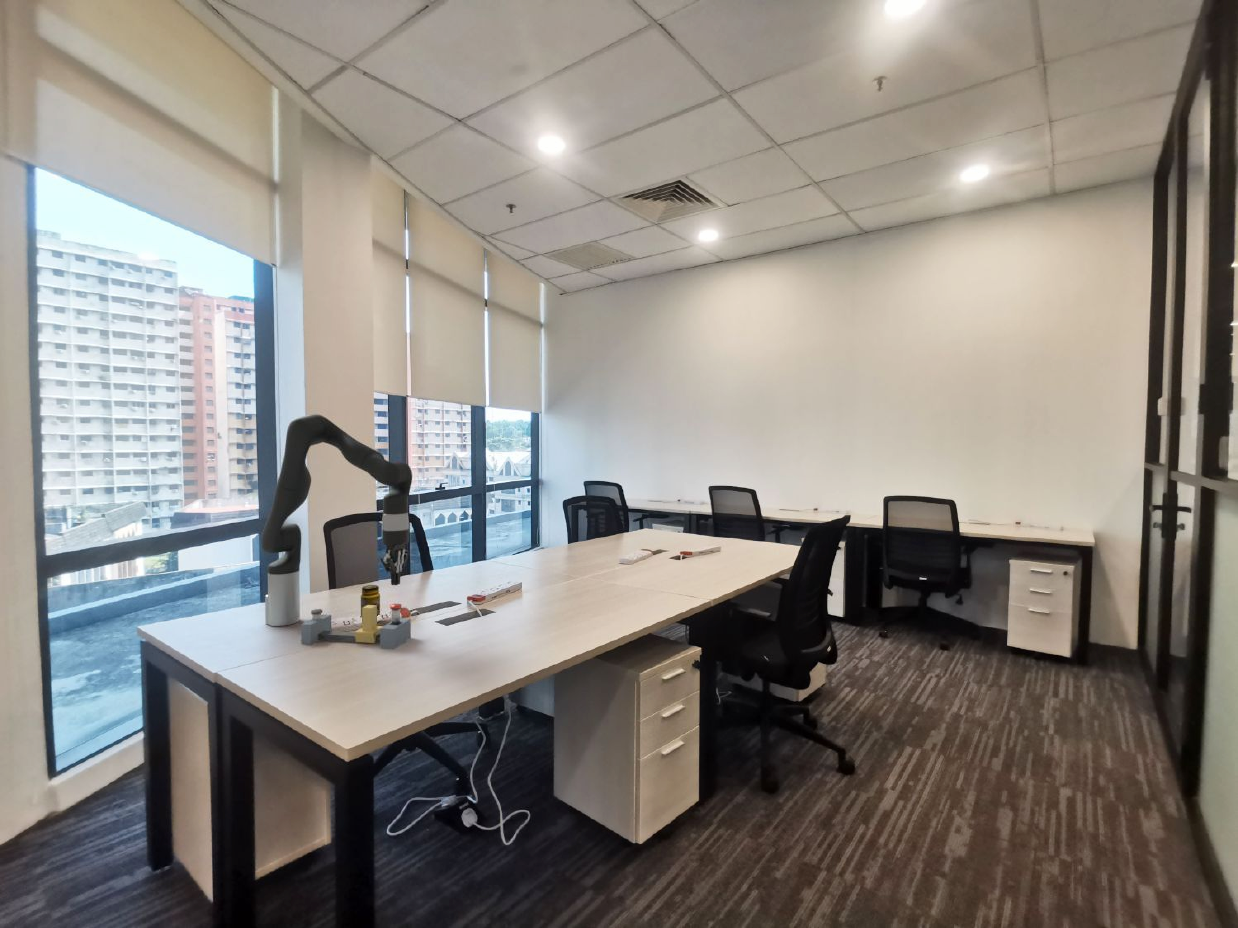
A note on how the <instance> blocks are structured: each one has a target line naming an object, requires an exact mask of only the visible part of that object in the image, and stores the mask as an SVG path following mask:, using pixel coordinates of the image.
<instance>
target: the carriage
mask: <svg viewBox="0 0 1238 928" xmlns="http://www.w3.org/2000/svg"><path fill="white" fill-rule="evenodd" d="M382 627H383V625H381V626H380V625H379V626H378V623H377V605H367V606H365V607H363V608H362V626H361V628H358V629H357V630H356V631H354V632H355V637H356V642H367V643H366V644H374V643H375V642H376V636H377V635H379V634H380V628H382ZM356 642H355V643H356Z"/></svg>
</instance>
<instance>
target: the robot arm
mask: <svg viewBox="0 0 1238 928" xmlns="http://www.w3.org/2000/svg"><path fill="white" fill-rule="evenodd" d="M286 430H287V431H286V436H285V437H286V438H285V446H284V454H283V458H282V463H281V469H280V473H279V476H278V479H277V483H276V488H275V491H274V495H273V496H274V497H273V501H272V504H271V508H270V511H269V514H268V517H267V520H266V522H265V525H264V527H263V530H262V533H261V538H260V539H261V543H260V545H261V548H262V550H263V551H264V552H265V553H267V554H276V553H277V554H279V553H284V554H283V555H282V556H281V557H280V558H278V559H277V560H275V561H272V562H271V563H269V564H268V565H267V594H266V595H265V598H264V600H265V601H264V602H265V603H264V606H265V607H264V609H265V614H264V615H265V618H264V619H265V625H268V626H271V627H272V626H273V627H284V626H289V625H292V624H293V625H294V624H296V623H298V622H300V621H301V595H300V594H301V592H300V591H301V589H300V588H301V586H300V585H301V584H300V581H301V580H300V578H301V577H300V572H301V571H300V568H301V561H302V560H301V558H302V557H301V555H302V531H301V528H300V526H299V525H298V524H297V523H286V520H287V519H288V518H289V517H290V516H292V514H293V513H294V512H296V510H298V509H299V508H300V507H301V506H302V505H303V504H304V503H305V501H306V500H307V499H308V496H309V492H310V489H311V485H312V476H311V473H310V470H309V469H308V468H309V467H307V463H306V460H307V456H308V453H309V450H310V448H311V447H312V446H314V445H318V444H321V443H323V444H328V445H330V446H333V447H335V449H336V448H337V449H338V450H339V451H340V452H341V455H342V456H343V457H344V459H345V460H346V461H347V462H349V464H350V465H352V466H354V467H356V468H358V469H360V470H362V471H363V472H366V473H368V474H369V476H371V477H372V478H373V479H375V481H377V482H378V483H380V484H381V485H385V486H388V487H389V491H388V493H386V494H385V495H384V496H383V499H382V519H381V535H382V536H381V543H382V544H383V545H385V546H386V547H385V556H384V557H383V556H382V557H381V558H380V561H381V563H382V565H383V568H384V569H385V571H386V572H387V573H389V574H390V584H391V585H392V586H398V585H400V584H401V572H402V571H403V569H405V566H406V565H407V560H408V558H409V554H410V551H409V550H406V544H408V543H409V541H410V537H409V535H410V533H409V531H410V530H409V529H410V528H409V527H410V526H409V525H410V522H409V511H408V510H409V509H408V508H409V505H408V504H409V503H408V501H409V500H408V499H409V495H410V493H411V492H410V491H411V486H412V483H413V472H412V469H411V466H410V465H409V464H407V463H406V462H403V461H396V462H393V461H389V460H386V459H385V457H384V455H383V454H382V453H381V452H379V451H378V450H375V449H373V448H372V447H370V446H368V445H366V444H364V443H362V442H360V441H359V440H358V439H355V438H354V437H352V436H351V435H349V434H348V433H347V432H345V431H344V430H343V429H342V428H340V427H339V426H337V425H336V424H335V423H333V422H332V421H331V420H329V419H328V418H326V417H325V416H323V415H321V414H318V413H317V414H315V413H314V414H313V413H312V414H309V415H304V416H299V417H296V418H293V419H292V420H291V421H290V423H289V424H288V426H287V429H286Z"/></svg>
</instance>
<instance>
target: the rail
mask: <svg viewBox="0 0 1238 928" xmlns="http://www.w3.org/2000/svg"><path fill="white" fill-rule="evenodd" d="M318 641H325V642H339V643H341V642H343V643H357V644H358V643H359V644H361V643H362V644H368V643H367V642H356V637H355V631H354V632H352V631H338V630H337V631H335V630H331V631H323V632H321V633H319V634H318ZM373 644H376V645H377V644H379V645H380V634H379V635H377V636H376V642H375V643H373Z"/></svg>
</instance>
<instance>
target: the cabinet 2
mask: <svg viewBox="0 0 1238 928" xmlns="http://www.w3.org/2000/svg"><path fill="white" fill-rule="evenodd" d="M411 620H412V618H407V617H405V618H403V617H402V618H401V617H400V624H399V625H392V621H390V622H388V623H387V624H385V625H384V626H383V625H382V626H383V627H382V628H380V644H379V645H380V649H389V650H395V649H396V648H398V647H400V646H401V645H403V644H404V643H406V642H407V641H408V640H409V639H411V638H412V636H411V635H412V633H411V632H412V631H411V629H412V627H411V625H412V623H411V622H412V621H411Z"/></svg>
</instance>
